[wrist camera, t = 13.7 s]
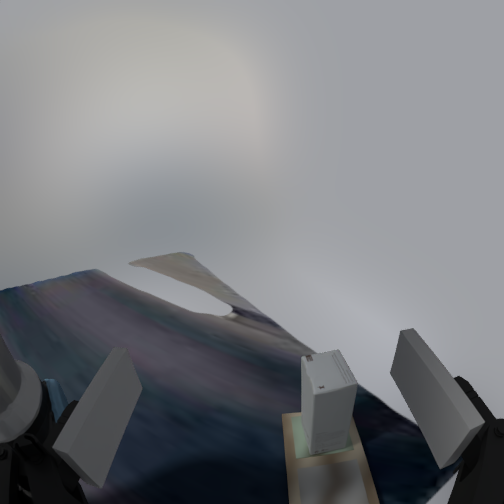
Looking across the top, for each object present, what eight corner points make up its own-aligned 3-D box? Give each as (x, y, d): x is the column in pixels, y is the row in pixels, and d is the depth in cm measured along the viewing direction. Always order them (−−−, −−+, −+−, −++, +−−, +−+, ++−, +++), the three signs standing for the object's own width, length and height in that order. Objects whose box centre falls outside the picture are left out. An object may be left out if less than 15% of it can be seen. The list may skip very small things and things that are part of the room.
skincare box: (345, 448, 33) (362, 385, 29) (307, 456, 33) (314, 395, 29) (332, 412, 41) (341, 346, 37) (298, 418, 41) (300, 353, 37)
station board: (291, 527, 22) (291, 525, 22) (282, 417, 43) (282, 413, 43) (378, 510, 22) (381, 508, 21) (348, 408, 43) (349, 404, 42)
